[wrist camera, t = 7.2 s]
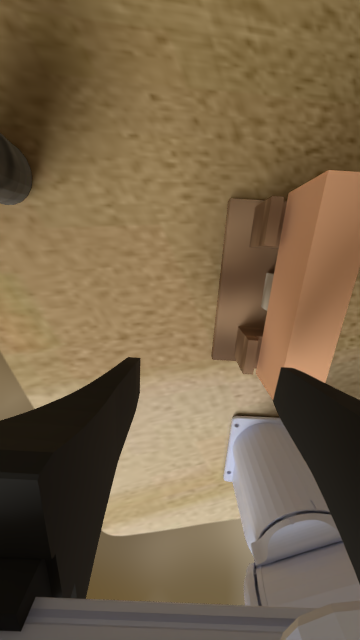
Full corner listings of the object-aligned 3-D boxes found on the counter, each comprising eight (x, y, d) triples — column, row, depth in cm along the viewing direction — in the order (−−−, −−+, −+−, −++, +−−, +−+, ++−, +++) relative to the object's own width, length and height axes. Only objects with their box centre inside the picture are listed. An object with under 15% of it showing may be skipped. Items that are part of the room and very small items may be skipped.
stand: (309, 360, 21) (337, 383, 18) (211, 355, 21) (218, 378, 17) (349, 208, 17) (397, 194, 13) (228, 200, 17) (242, 185, 13)
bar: (289, 374, 18) (318, 406, 15) (255, 373, 18) (275, 404, 15) (332, 195, 14) (387, 173, 10) (288, 192, 14) (328, 170, 10)
